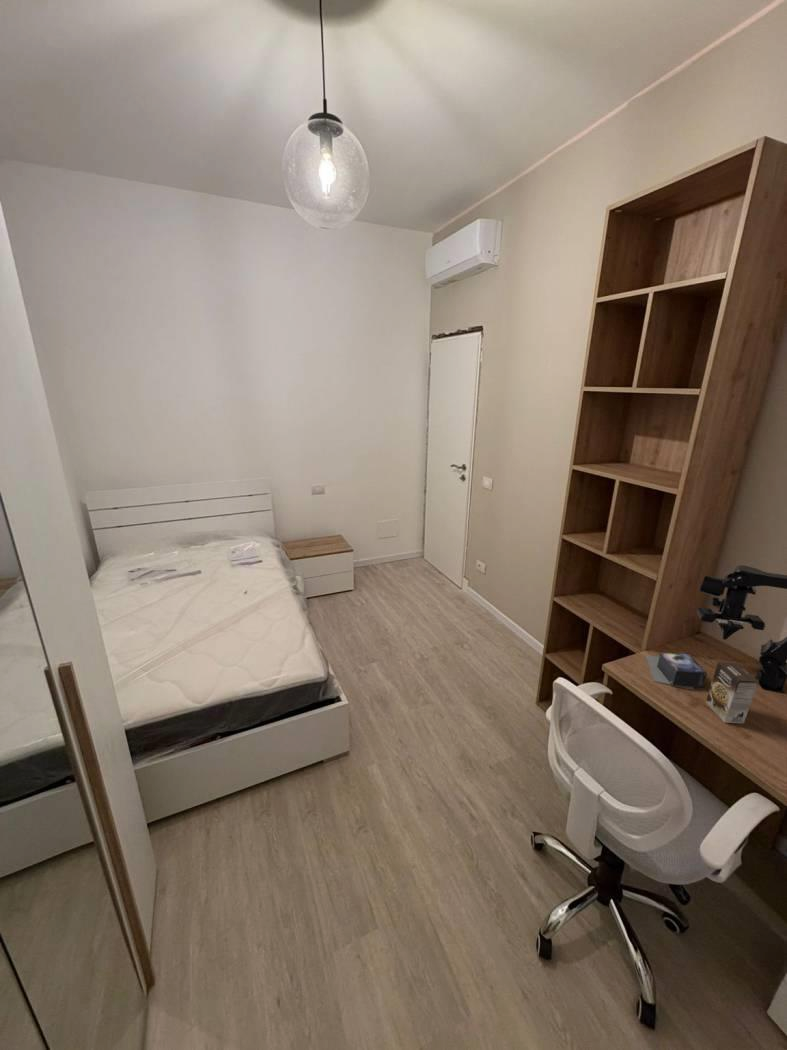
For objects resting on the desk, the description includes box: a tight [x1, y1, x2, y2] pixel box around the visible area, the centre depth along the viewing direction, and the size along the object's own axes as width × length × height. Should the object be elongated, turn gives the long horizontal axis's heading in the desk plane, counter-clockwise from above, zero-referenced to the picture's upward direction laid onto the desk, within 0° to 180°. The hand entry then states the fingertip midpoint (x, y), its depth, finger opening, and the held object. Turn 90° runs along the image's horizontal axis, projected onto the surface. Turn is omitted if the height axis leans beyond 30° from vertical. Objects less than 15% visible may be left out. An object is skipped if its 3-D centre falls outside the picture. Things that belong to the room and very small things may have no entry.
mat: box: [645, 654, 695, 691], centre depth 153 cm, size 12×16×1 cm
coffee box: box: [705, 661, 759, 724], centre depth 132 cm, size 9×6×16 cm
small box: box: [657, 652, 708, 688], centre depth 149 cm, size 11×6×10 cm
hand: (723, 638), depth 152 cm, fingers closed
